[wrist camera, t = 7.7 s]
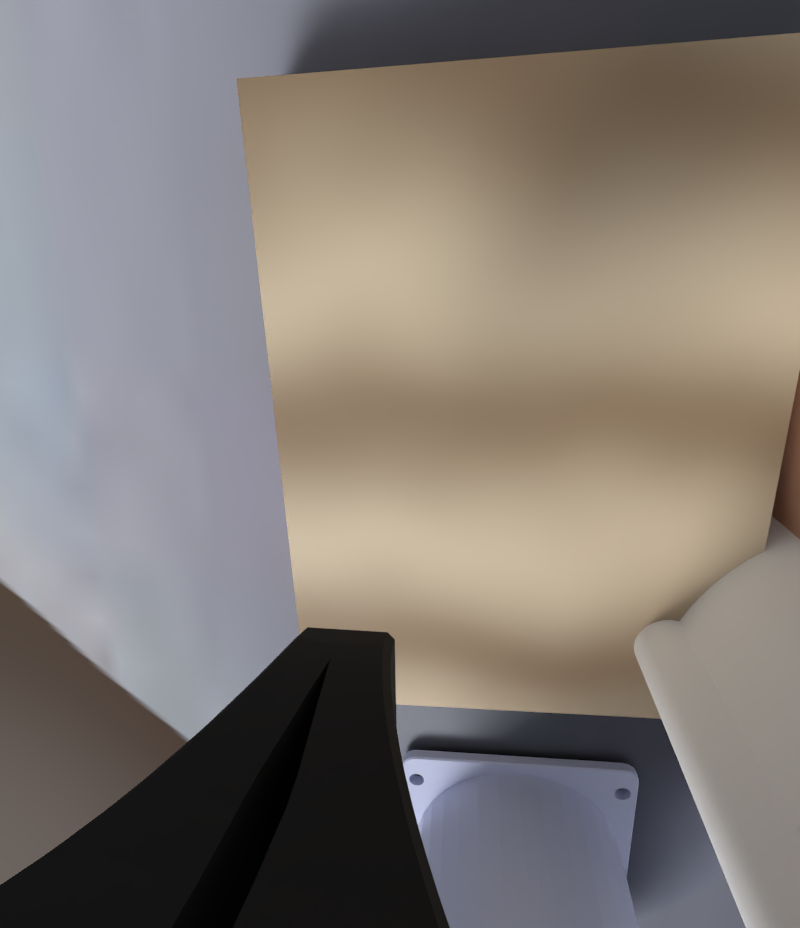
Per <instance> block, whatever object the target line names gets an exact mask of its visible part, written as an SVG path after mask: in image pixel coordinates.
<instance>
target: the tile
mask: <svg viewBox="0 0 800 928" xmlns="http://www.w3.org/2000/svg"><path fill="white" fill-rule="evenodd" d="M772 516H773V517H774V518H775V519H776V520H777V521H779V522H780V523H781V524H782V525H783V526H784V527H786V528H787V529H788V530H789V531H790V532H791V533H793V534H794V535H795V536H796V537H797V538H798V539H800V371H799V376H798V381H797V386H796V392H795V397H794V402H793V407H792V412H791V417H790V423H789V428H788V433H787V438H786V443H785V449H784V454H783V459H782V464H781V469H780V475H779V480H778V485H777V490H776V495H775V501H774V506H773V511H772Z"/></svg>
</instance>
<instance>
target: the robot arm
mask: <svg viewBox="0 0 800 928" xmlns="http://www.w3.org/2000/svg"><path fill="white" fill-rule="evenodd" d="M414 774H419V775H421V776H416V775H414ZM638 787H639V779H638V775H637V772H636V770H635V769H634V767H632V766H631V765H629V764H625V763H617V762H601V761H585V760H570V759H554V758H538V757H523V756H507V755H491V754H476V753H460V752H444V751H429V750H411V751H409V752H407V753H406V754H405V755H404V758H403V762H402V757H401V753H400V747H399V741H398V735H397V729H396V677H395V639H394V638H393V637H392V636H391V635H390V634H389V633H388V632H376V631H360V630H344V629H327V628H311V627H307V628H306V629H305V630H304V631H303V632H302V633H301V634H300V635H299V636H298V637H297V638H295V639H294V640H293V641H292V642H291V643H290V644H289V645H288V646H287V647H286V648H285V649H284V650H283V651H282V653H281V654H280V655H279V656H278V657H277V658H276V659H275V660H274V661H273V662H272V663H271V664H270V665H269V666H268V667H267V668H266V669H265V670H264V671H263V672H262V673H261V674H260V675H259V676H258V677H257V678H256V679H255V680H254V681H253V682H252V683H250V684H249V685H248V686H247V687H246V688H245V689H244V690H243V691H242V692H241V693H240V694H239V695H238V696H237V697H236V698H235V699H234V700H233V701H232V702H231V703H230V704H229V705H227V706H226V707H225V708H224V709H223V710H222V711H221V712H220V713H219V714H218V715H217V716H216V717H215V718H214V719H213V720H212V721H211V722H210V723H208V724H207V725H206V726H205V727H204V728H203V729H202V730H201V731H200V732H199V733H197V734H196V735H195V736H194V737H193V738H192V739H191V740H189V741H188V742H187V743H186V744H185V745H184V746H182V747H181V748H180V749H179V750H178V751H177V752H175V753H174V754H173V755H172V756H171V757H170V758H169V759H168V760H166V761H165V762H164V763H163V764H162V765H161V766H159V767H158V768H157V769H156V770H155V771H154V772H153V773H151V774H150V775H149V776H148V777H147V778H145V779H144V780H143V781H142V782H140V783H139V784H138V785H137V786H136V787H134V788H133V789H132V790H131V791H129V792H128V793H127V794H126V795H124V796H123V797H122V798H121V799H120V800H118V801H117V802H116V803H114V804H113V805H112V806H110V807H109V808H108V809H107V810H106V811H104V812H103V813H102V814H100V815H99V816H98V817H96V818H95V819H93V820H92V821H91V822H89V823H88V824H87V825H86V826H84V827H83V828H81V829H80V830H79V831H77V832H76V833H75V834H74V835H72V836H71V837H70V838H68V839H67V840H65V841H64V842H63V843H61V844H60V845H58V846H57V847H56V848H54V849H53V850H52V851H50V852H49V853H47V854H46V855H45V856H43V857H42V858H40V859H39V860H37V861H36V862H34V863H33V864H31V865H30V866H28V867H27V868H25V869H24V870H22V871H21V872H19V873H18V874H16V875H15V876H13V877H12V878H10V879H9V880H7V881H6V882H4V883H3V884H1V885H0V928H639V926H638V922H637V918H636V914H635V910H634V906H633V902H632V898H631V894H630V890H629V886H628V882H627V871H628V863H629V855H630V848H631V840H632V833H633V825H634V817H635V810H636V802H637V795H638ZM620 788H625V789H623V790H618V789H620Z"/></svg>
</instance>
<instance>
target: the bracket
mask: <svg viewBox="0 0 800 928" xmlns="http://www.w3.org/2000/svg"><path fill="white" fill-rule="evenodd" d="M634 653H635V656H636V658H637V661H638V663H639V665H640V668H641V670H642V673H643V675H644V678H645V680H646V683H647V685H648V688H649V690H650V693H651V695H652V697H653V700H654V702H655V705H656V707H657V710H658V712H659V715H660V717H661V720H662V722H663V725H664V727H665V729H666V732H667V734H668V737H669V739H670V742H671V744H672V747H673V749H674V752H675V754H676V756H677V759H678V761H679V764H680V766H681V769H682V771H683V774H684V776H685V779H686V781H687V784H688V786H689V788H690V791H691V793H692V796H693V798H694V801H695V803H696V806H697V808H698V811H699V813H700V816H701V818H702V820H703V823H704V825H705V828H706V830H707V833H708V835H709V838H710V840H711V843H712V845H713V848H714V850H715V852H716V855H717V857H718V860H719V862H720V865H721V867H722V870H723V872H724V875H725V877H726V880H727V882H728V884H729V887H730V889H731V892H732V894H733V897H734V899H735V902H736V904H737V907H738V909H739V912H740V914H741V916H742V919H743V921H744V924H745V926H746V928H800V539H798V538H797V537H796V536H795V535H794V534H793V533H791V532H790V531H789V530H788V529H787V528H786V527H784V526H783V525H782V524H781V523H780V522H779V521H777V520H776V519H775V518H774V517H773V516H771V521H770V526H769V532H768V537H767V542H766V547H765V551H764V552H762V553H760V554H758V555H756V556H754V557H753V558H751V559H749V560H747V561H746V562H744V563H743V564H741V565H740V566H738V567H736V568H735V569H733V570H732V571H730V572H729V573H728V574H726V575H725V576H724V577H723V578H721V579H720V580H719V581H717V582H716V583H715V584H714V585H712V586H711V587H710V588H709V589H708V590H707V591H706V592H705V593H704V594H703V595H702V596H701V597H699V599H698V600H697V601H696V602H695V603H694V604H693V605H692V606H691V607H690V608H689V610H688V611H687V612H686V613H685V615H684V616H683V617H682V619H681V620H680V621H675V620H662V621H657V622H654V623H652V624H650V625H648V626H646V627H645V628H644V629H643V630H642V631H641V632H640V633H639V634H638V635H637V637H636V639H635V642H634Z"/></svg>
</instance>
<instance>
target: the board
mask: <svg viewBox="0 0 800 928" xmlns="http://www.w3.org/2000/svg"><path fill="white" fill-rule="evenodd" d="M237 87H238V96H239V105H240V114H241V122H242V131H243V140H244V149H245V158H246V167H247V175H248V184H249V193H250V202H251V211H252V220H253V228H254V237H255V246H256V255H257V264H258V273H259V281H260V290H261V299H262V308H263V317H264V326H265V334H266V343H267V352H268V361H269V370H270V379H271V388H272V396H273V405H274V414H275V423H276V432H277V441H278V449H279V458H280V467H281V476H282V485H283V494H284V502H285V511H286V520H287V529H288V538H289V547H290V555H291V564H292V573H293V582H294V591H295V600H296V608H297V617H298V626H299V635H300V634H301V633H302V632H303V631H304V630H305V629H306V628H307V627H311V628H327V629H344V630H360V631H376V632H388V633H389V634H390V635H391V636H392V637H393V638H394V639H395V677H396V704H399V705H417V706H436V707H454V708H472V709H491V710H509V711H527V712H546V713H564V714H583V715H601V716H619V717H638V718H656V719H661V717H660V715H659V712H658V710H657V707H656V705H655V702H654V700H653V697H652V695H651V693H650V690H649V688H648V685H647V683H646V680H645V678H644V675H643V673H642V670H641V668H640V665H639V663H638V661H637V658H636V656H635V653H634V642H635V639H636V637H637V635H638V634H639V633H640V632H641V631H642V630H643V629H644V628H645V627H646V626H648V625H650V624H652V623H654V622H657V621H662V620H675V621H680V620H681V619H682V617H683V616H684V615H685V613H686V612H687V611H688V610H689V608H690V607H691V606H692V605H693V604H694V603H695V602H696V601H697V600H698V599H699V597H701V596H702V595H703V594H704V593H705V592H706V591H707V590H708V589H709V588H710V587H711V586H712V585H714V584H715V583H716V582H717V581H719V580H720V579H721V578H723V577H724V576H725V575H726V574H728V573H729V572H730V571H732V570H733V569H735V568H736V567H738V566H740V565H741V564H743V563H744V562H746V561H747V560H749V559H751V558H753V557H754V556H756V555H758V554H760V553H762V552H764V551H765V547H766V542H767V537H768V532H769V526H770V521H771V516H772V511H773V506H774V501H775V495H776V490H777V485H778V480H779V475H780V469H781V464H782V459H783V454H784V449H785V443H786V438H787V433H788V428H789V423H790V417H791V412H792V407H793V402H794V397H795V392H796V386H797V381H798V376H799V371H800V33H789V34H777V35H764V36H752V37H740V38H728V39H716V40H703V41H691V42H679V43H667V44H655V45H643V46H630V47H618V48H606V49H594V50H582V51H569V52H557V53H545V54H533V55H521V56H508V57H496V58H484V59H472V60H460V61H447V62H435V63H423V64H411V65H399V66H387V67H374V68H362V69H350V70H338V71H326V72H313V73H301V74H289V75H277V76H265V77H252V78H240V79H237Z"/></svg>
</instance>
